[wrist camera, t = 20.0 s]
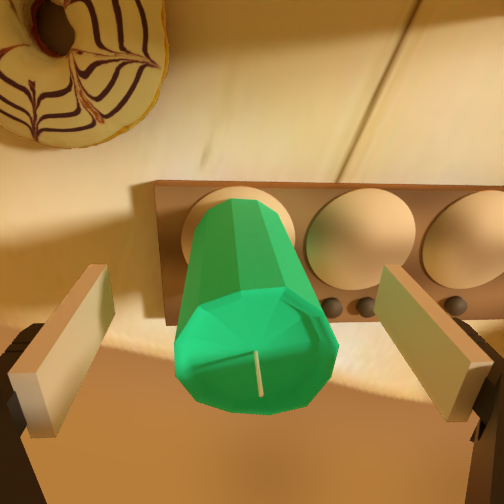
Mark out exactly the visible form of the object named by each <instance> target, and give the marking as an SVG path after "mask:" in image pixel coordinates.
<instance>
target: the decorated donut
mask: <svg viewBox="0 0 504 504" xmlns="http://www.w3.org/2000/svg"><path fill="white" fill-rule="evenodd" d="M44 1H46V0H0V126H2V127H3V128H5V129H6V130H8V131H10V132H12V133H14V134H16V135H18V136H20V137H25V138H28V139H31V140H34V141H37V142H39V143H41V144H44V145H48V146H54V147H61V148H65V149H72V148H86V147H89V146H95V145H98V144H101V143H104V142H107V141H109V140H111V139H113V138H115V137H116V136H118V135H120V134H122V133H125V132H126V131H128V130H130V129H131V128H132V127H134V126H135V125H136V124H137V123H138V122H140V121H141V120H143V119H144V118H145V117H146V115H147V114H148V113H149V112H150V110H151V109H152V108H153V107H154V105H155V104H156V102H157V100H158V96H159V93H160V88H161V84H162V82H163V80H164V79H165V77H166V75H167V69H168V66H169V49H170V47H169V42H168V38H167V33H166V12H165V4H164V0H51V1H52V2H53V3H54V4H56V5H59V6H63V8H64V11H65V13H66V16H67V19H68V21H69V23H70V25H71V26H72V27H73V29H74V32H75V40H74V44H73V45H72V47H71V49H70V51H69V52H68V53H67V55H64V56H60V55H59V54H58V53H57V52H56V53H54V51H51V50H50V49H49V48H48V47H47V46H46V45H45V44H44V43H43V42H42V40H41V38H40V36H39V32H38V27H37V25H36V12H37V10H38V9H39V8H38V7H41V3H43V2H44Z"/></svg>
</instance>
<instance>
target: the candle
mask: <svg viewBox="0 0 504 504" xmlns="http://www.w3.org/2000/svg"><path fill="white" fill-rule="evenodd" d="M338 348H339V344H338V342H337V340H336V337H335V335H334V333H333V331H332V329H331V327H330V325H329V322H328V320H327V318H326V316H325V314H324V312H323V310H322V307H321V305H320V303H319V301H318V299H317V297H316V294H315V292H314V290H313V288H312V286H311V284H310V282H309V279H308V277H307V275H306V273H305V271H304V269H303V266H302V264H301V262H300V260H299V258H298V256H297V254H296V251H295V249H294V247H293V245H292V243H291V241H290V238H289V236H288V234H287V232H286V230H285V228H284V226H283V223H282V221H281V219H280V217H279V215H278V213H277V212H275V211H274V210H272V209H271V208H269V207H268V206H266V205H264V204H263V203H261V202H260V201H258V200H254V199H235V198H231V199H229V200H227V201H225V202H223V203H220V204H218V205H216V206H214V207H212V208H210V209H208V210H207V212H206V213H205V215H204V216H203V218H202V220H201V221H200V223H199V224H198V226H197V227H196V229H195V231H194V237H193V242H192V248H191V253H190V259H189V264H188V270H187V275H186V281H185V286H184V292H183V297H182V303H181V308H180V314H179V319H178V325H177V331H176V336H175V342H174V355H175V376H176V377H177V378H178V380H179V381H180V382H181V383H182V384H183V386H184V387H185V388H186V389H187V391H188V392H189V393H190V394H191V395H192V397H193V398H194V399H195V400H196V401H197V402H200V403H203V404H206V405H209V406H212V407H215V408H219V409H221V410H225V411H228V412H232V413H246V414H260V415H272V414H277V413H281V412H285V411H289V410H293V409H297V408H302V407H306V406H307V405H308V404H309V403H310V402H311V401H312V399H313V398H314V397H315V396H316V395H317V393H318V392H319V391H320V390H321V389H322V387H323V386H324V385H325V384H326V383H327V381H328V380H329V379H330V378H331V375H332V372H333V368H334V364H335V360H336V356H337V352H338Z"/></svg>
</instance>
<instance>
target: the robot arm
mask: <svg viewBox="0 0 504 504" xmlns="http://www.w3.org/2000/svg"><path fill="white" fill-rule="evenodd" d="M373 312H374V313H375V315H376V316H377V318H378V319H379V321H380V322H381V324H382V325H383V327H384V328H385V330H386V331H387V333H388V334H389V336H390V337H391V339H392V340H393V342H394V343H395V345H396V346H397V348H398V349H399V351H400V353H401V354H402V356H403V357H404V359H405V360H406V362H407V363H408V365H409V366H410V368H411V369H412V371H413V372H414V374H415V375H416V377H417V378H418V380H419V381H420V383H421V384H422V386H423V387H424V389H425V390H426V392H427V394H428V395H429V397H430V398H431V400H432V401H433V403H434V404H435V406H436V407H437V409H438V410H439V412H440V413H441V415H442V416H443V418H444V419H445V421H446V422H466V421H467V420H468V418H469V416H470V414H471V412H472V409H473V410H474V411H475V412H476V414H477V415H478V416H479V417H480V420H479V422H478V424H477V426H476V428H475V431H474V433H473V435H472V437H471V439H470V441H472V442H474V447H473V453H472V460H471V466H470V473H469V479H468V485H467V492H466V499H465V504H504V359H503V358H502V357H501V356H500V355H499V354H498V353H497V352H496V351H495V350H494V349H493V348H492V347H491V346H490V345H489V344H488V343H485V340H484V339H483V338H482V337H481V336H480V335H478V333H477V332H476V331H475V330H474V329H473V328H472V327H471V326H470V325H468V324H467V323H465V322H463V321H462V320H460V319H458V318H457V317H450V316H449V315H448V314H447V313H446V312H445V311H444V310H443V309H442V308H441V307H440V306H439V305H438V304H437V303H436V302H435V301H434V300H433V299H432V298H431V297H430V296H429V295H428V294H427V293H426V292H425V291H424V290H423V289H422V288H421V286H420V285H419V284H418V283H417V282H416V281H415V280H414V279H413V278H412V277H411V276H410V275H409V274H408V273H407V272H406V271H405V270H404V269H403V268H402V267H401V266H400V265H399V264H384V266H383V270H382V274H381V279H380V283H379V287H378V292H377V296H376V300H375V305H374V309H373ZM114 315H115V309H114V303H113V297H112V291H111V285H110V279H109V272H108V266H107V264H90V265H89V266H88V267H87V269H86V270H85V271H84V273H83V274H82V275H81V277H80V278H79V279H78V281H77V282H76V283H75V285H74V286H73V287H72V289H71V290H70V291H69V292H68V294H67V295H66V296H65V298H64V299H63V300H62V302H61V303H60V304H59V306H58V307H57V308H56V310H55V311H54V312H53V314H52V315H51V316H50V318H49V319H48V320H47V322H46V323H33V324H32V325H30V326H29V327H27V328H26V329H24V330H23V331H22V332H20V333H19V335H18V336H17V337H16V338H15V339H14V341H13V342H12V344H11V345H9V347H8V348H7V349H6V350H5V353H3V354H2V355H1V356H0V504H47V503H46V500H45V498H44V496H43V493H42V490H41V488H40V485H39V483H38V481H37V478H36V476H35V473H34V471H33V468H32V466H31V463H30V461H29V458H28V456H27V454H26V451H25V448H24V446H23V444H22V441H21V439H20V436H21V434H22V433H23V431H24V429H25V428H26V426H27V429H28V431H29V435H30V437H31V438H52V437H56V436H57V434H58V432H59V430H60V428H61V426H62V424H63V422H64V419H65V417H66V415H67V413H68V411H69V409H70V407H71V405H72V403H73V401H74V399H75V396H76V394H77V392H78V390H79V388H80V386H81V384H82V382H83V380H84V378H85V376H86V374H87V372H88V369H89V367H90V365H91V363H92V361H93V359H94V357H95V355H96V353H97V351H98V349H99V346H100V344H101V342H102V340H103V338H104V336H105V334H106V332H107V330H108V328H109V326H110V324H111V321H112V319H113V317H114Z"/></svg>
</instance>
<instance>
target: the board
mask: <svg viewBox="0 0 504 504" xmlns="http://www.w3.org/2000/svg"><path fill="white" fill-rule="evenodd" d="M154 191H155V203H156V214H157V226H158V238H159V250H160V261H161V273H162V285H163V296H164V308H165V320H166V326H177V325H178V319H179V314H180V308H181V303H182V297H183V292H184V286H185V281H186V275H187V270H188V264H189V259H190V253H191V248H192V242H193V237H194V231H195V229H196V227H197V226H198V224H199V223H200V221H201V220H202V218H203V216H204V215H205V213H206V212H207V210H208V209H210V208H212V207H214V206H216V205H218V204H220V203H223V202H225V201H227V200H229V199H231V198H235V199H254V200H258V201H260V202H261V203H263V204H264V205H266V206H268V207H269V208H271V209H272V210H274V211H275V212H277V213H278V215H279V217H280V219H281V221H282V223H283V226H284V228H285V230H286V232H287V234H288V236H289V238H290V241H291V243H292V245H293V247H294V249H295V251H296V254H297V256H298V258H299V260H300V262H301V264H302V266H303V269H304V271H305V273H306V275H307V277H308V279H309V282H310V284H311V286H312V288H313V290H314V292H315V294H316V297H317V299H318V301H319V303H320V305H321V307H322V310H323V312H324V314H325V316H326V318H327V320H328V322H329V323H335V322H380V321H379V319H378V318H377V316H376V315H375V313H374V312H373V309H374V305H375V300H376V296H377V292H378V287H379V283H380V279H381V274H382V270H383V266H384V264H399V265H400V266H401V267H402V268H403V269H404V270H405V271H406V272H407V273H408V274H409V275H410V276H411V277H412V278H413V279H414V280H415V281H416V282H417V283H418V284H419V285H420V286H421V288H422V289H423V290H424V291H425V292H426V293H427V294H428V295H429V296H430V297H431V298H432V299H433V300H434V301H435V302H436V303H437V304H438V305H439V306H440V307H441V308H442V309H443V310H444V311H445V312H446V313H447V314H448V315H449V316H450V317H457V318H458V319H460V320H488V319H504V186H474V185H417V184H360V183H303V182H246V181H189V180H158V181H157V183H156V184H155V186H154Z"/></svg>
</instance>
